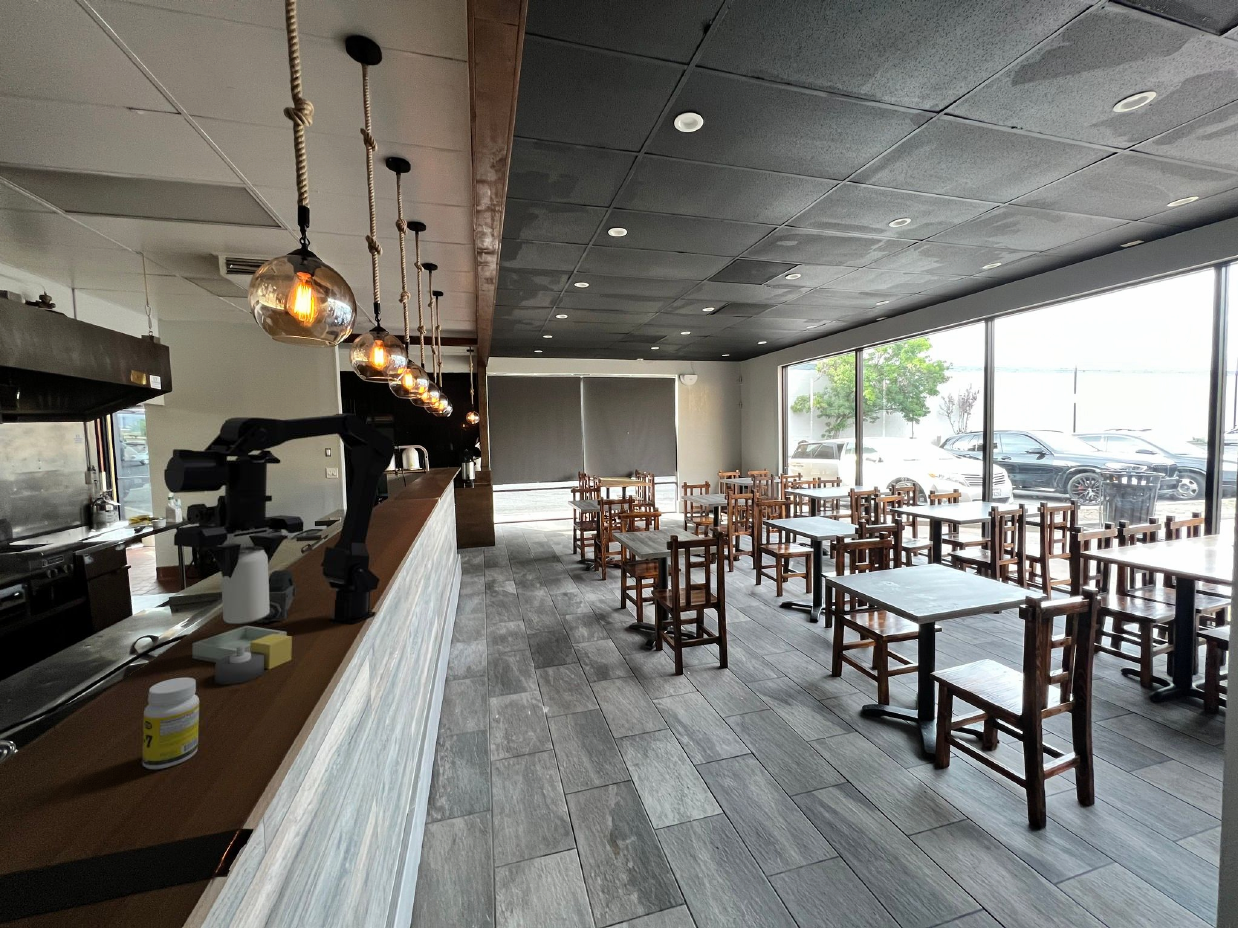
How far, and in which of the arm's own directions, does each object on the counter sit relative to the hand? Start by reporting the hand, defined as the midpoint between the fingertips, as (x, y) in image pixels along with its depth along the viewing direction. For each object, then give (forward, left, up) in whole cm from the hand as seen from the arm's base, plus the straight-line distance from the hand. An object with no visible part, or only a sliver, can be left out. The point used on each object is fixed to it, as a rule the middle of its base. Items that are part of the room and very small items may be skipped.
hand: (244, 579), depth 86 cm
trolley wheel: (+7, +8, -13) cm, 17 cm away
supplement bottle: (+25, +21, -13) cm, 35 cm away
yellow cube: (+2, +8, -13) cm, 15 cm away
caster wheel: (-16, -11, -13) cm, 23 cm away
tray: (0, 0, -13) cm, 13 cm away
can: (0, 0, -7) cm, 7 cm away
